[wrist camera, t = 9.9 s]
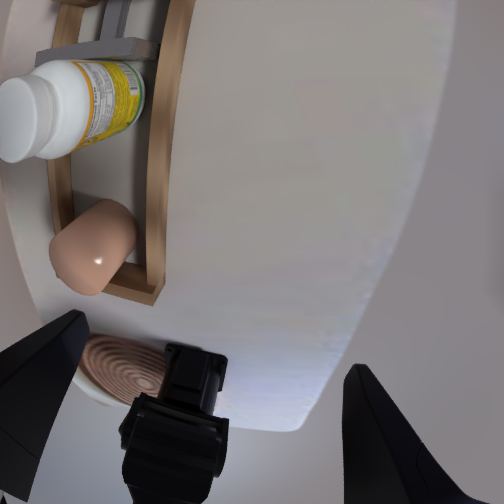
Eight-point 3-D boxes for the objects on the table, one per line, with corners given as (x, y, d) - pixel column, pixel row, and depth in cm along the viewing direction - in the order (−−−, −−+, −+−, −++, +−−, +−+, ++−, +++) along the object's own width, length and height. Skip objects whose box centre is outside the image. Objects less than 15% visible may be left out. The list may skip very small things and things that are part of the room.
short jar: (140, 259, 23) (110, 302, 18) (91, 249, 23) (57, 286, 19) (137, 203, 20) (100, 240, 16) (85, 196, 21) (43, 228, 16)
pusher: (164, 60, 15) (130, 55, 11) (76, 64, 15) (34, 67, 11) (184, -32, 11) (158, -57, 7) (93, -19, 11) (55, -31, 7)
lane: (165, 283, 24) (148, 315, 21) (73, 259, 24) (50, 284, 21) (209, -51, 10) (192, -76, 7) (87, -33, 10) (56, -44, 7)
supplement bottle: (159, 70, 15) (60, 68, 7) (134, 143, 18) (40, 193, 10) (95, 55, 15) (-10, 59, 6) (77, 123, 17) (-22, 162, 9)
